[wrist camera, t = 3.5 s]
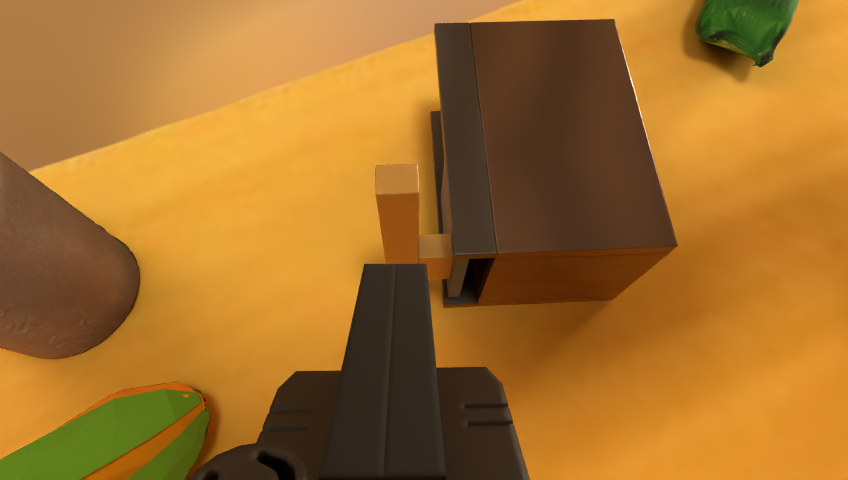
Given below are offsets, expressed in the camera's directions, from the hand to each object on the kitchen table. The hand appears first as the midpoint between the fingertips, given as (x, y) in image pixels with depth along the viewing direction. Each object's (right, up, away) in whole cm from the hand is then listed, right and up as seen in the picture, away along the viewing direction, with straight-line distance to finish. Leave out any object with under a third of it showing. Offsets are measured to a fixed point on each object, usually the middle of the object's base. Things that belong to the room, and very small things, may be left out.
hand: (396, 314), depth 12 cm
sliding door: (+1, +1, +25) cm, 25 cm away
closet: (+8, +5, +27) cm, 29 cm away
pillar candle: (-25, -2, +24) cm, 34 cm away
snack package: (+31, +23, +36) cm, 53 cm away
